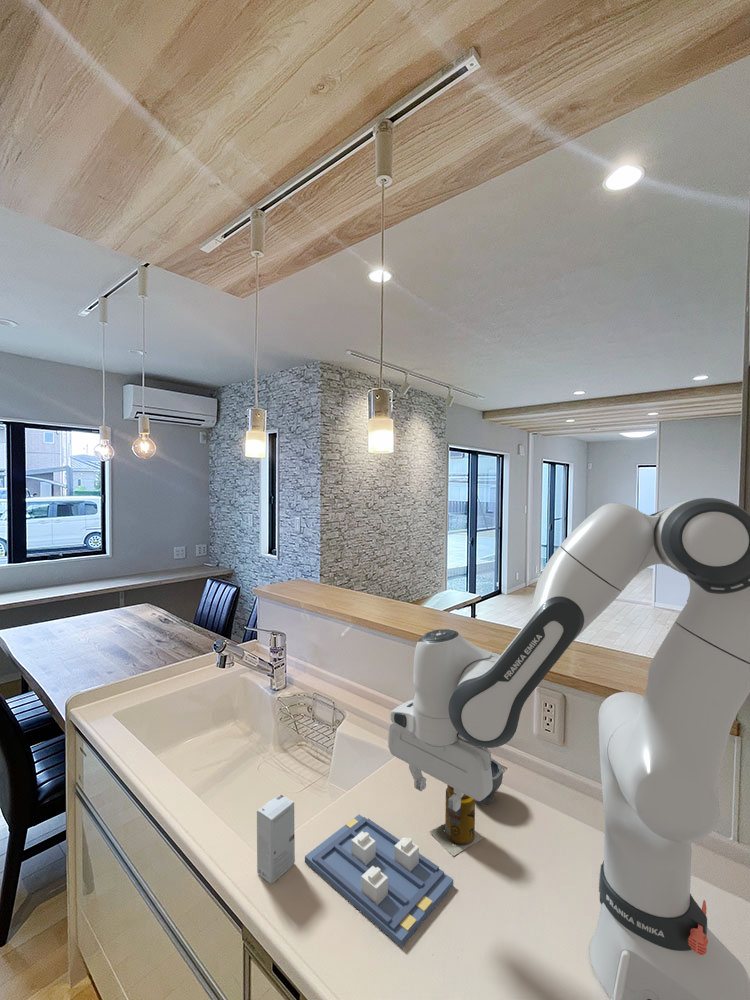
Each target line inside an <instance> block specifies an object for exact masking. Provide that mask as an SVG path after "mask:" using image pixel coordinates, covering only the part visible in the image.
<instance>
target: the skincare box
mask: <svg viewBox="0 0 750 1000" xmlns="http://www.w3.org/2000/svg"><path fill="white" fill-rule="evenodd" d="M295 835H296V834H295V802H294V801H293V800H291V799H290V798H288V797H286V796H284V795H282V794H278V795H277V796H276V797H274V798H273V799H270V800H269V801H267V802H266V803H265V804H264V805H263V806H262V807H260V808H258V809H257V810H256V867H257V868H256V870H257V871H256V873H257V874H258V875H259V876H260V877H261V878H262V879H264V880H265V881H266V882H268V883H269V884H270V885H272V884H274V883H275V882H276V881H277V880H279V878H281V877H282V876H283V875H284V874H285V873H286V872H287V871H288V870H290V869H291V868H292V867H293V865H294V864H295V862H296V861H295V860H296V858H295V857H296V856H295V847H296V846H295V845H296V844H295V839H296V838H295Z"/></svg>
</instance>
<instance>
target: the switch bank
mask: <svg viewBox="0 0 750 1000" xmlns="http://www.w3.org/2000/svg"><path fill="white" fill-rule="evenodd" d="M362 831H363V832H364V833H365V832H367V833H369V836H370V837H371V838H372V839H374V840H375V841H376V857H375V858H374V859H373V860H372V861H371V862H369V863H368V864H367V865H364V864H363V863H362V862H360V861H359V860H358V859H357V858H355V857H354V856H353V855H352V854H351V840H352V839H353V838H354V837H356V836H357V835H358V834H359V833H361V832H362ZM400 840H401V839H399V838H397V837H396V836H395V835H394V834H392V833H390V832H389V831H387V830H386V829H384V828H383V827H381V825H379V824H377V823H375V821H373V820H371V819H370V818H366V817H365V816H362V815H361V814H360V813H358V814H357V815H356V816H355V817H354V818H352V819H351V820H350V821H348V822H347V823H345V825H343V826H342V827H341V828H339V829H338V830H337V831H335V832H334V833H333V834H331V835H330V836H329V837H328V838H326V839H325V840H324V841H322V842H321V843H319V844H318V845H317V846H316V847H315V848H313V849H312V850H311V851H309V852H307V854H305V855H304V862H305V863H306V864H307V865H308V867H310V868H311V869H312V870H313V871H314V872H316V874H318V875H319V876H320V877H321V878H322V879H323V880H324V881H325V882H326V883H328V884H329V885H330V886H331V887H332V888H333V889H334V890H336V891H337V892H338V893H339V894H340V895H341V896H342V897H343V898H345V900H347V901H348V902H349V903H350V904H351V905H352V906H353V907H354V908H356V909H357V910H358V911H359V912H360V913H361V914H363V916H365V917H366V918H367V919H368V920H369V921H370V922H372V923H373V924H374V926H376V927H377V928H378V929H379V930H381V932H383V933H384V934H385V935H386V936H387V937H388V938H390V940H391V941H393V942H394V943H395V944H396V945H397V946H399V947H400V948H403V947H404V946H405V944H406V943H407V942H408V941H409V940H410V938H411V937H413V934H415V932H416V931H417V930H418V928H420V926H421V925H422V924H423V922H425V920H426V919H427V918H428V917H429V916H430V915H431V913H432V912H433V911H434V909H436V907H437V906H438V905H439V903H440V902H441V901H442V900H443V899H444V898H445V897H446V895H448V893H449V891H450V890H452V888H453V886H454V879H453V877H450V876H449V875H448V874H447V873H445V871H444V870H442V869H441V868H440V867H439V866H438V865H437V864H436V863H434V862H432V861H431V860H430V859H428V858H427V857H426V856H424V855H423V854H421V853H419V864H418V865H417V866H416V867H415V868H414V869H413V870H412V871H411V872H409V871H408V870H407V869H405V868H404V867H403V866H401V865H400V864H398V863H397V862H396V861H394V846H395V845H396V844H397V843H398V842H399V841H400ZM372 866H374V867H375V868H377V867H378V868H380V869H381V872H382V873H383V874H384V875H386V876H387V877H388V895H387V896H386V897H385V898H384V899H383V900H382V901H381V902H380V903H379V905H378V906H377V905H376V904H375V903H373V902H372V901H371V900H370V899H369V898H367V897H366V896H365V895H364V894H363V893H362V892H361V876H362V875H363V874H364V873H365V872H366V871H367V870H368V869H370V868H371V867H372Z"/></svg>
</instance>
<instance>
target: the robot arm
mask: <svg viewBox="0 0 750 1000" xmlns="http://www.w3.org/2000/svg"><path fill="white" fill-rule="evenodd" d="M655 565H665V566H667V567H669V568H671V569H673V570H674V571H676V572H678V573H680V574H683V575H685V576H686V577H687V579H688V581H689V593H688V596H687V600H686V604H685V605H684V606H683V608H682V610H681V611H680V613H679V614H678V616H677V617H676V619H675V621H674V622H673V624H672V625H671V628H670V629H669V630H668V632H667V634H666V636H665V637H664V639H663V641H662V642H661V644H660V646H659V648H658V649H657V651H656V653H655V654H654V656H653V658H652V659H651V661H650V664H649V666H648V671H647V682H646V683H647V684H646V688H645V692H644V696H643V695H640V694H638V693H635V692H630V691H621V692H616V693H613V694H611V695H610V696H608V697H607V698H606V699H604V700H603V701H602V703H601V705H600V707H599V710H598V717H597V718H598V720H597V721H598V741H599V745H598V746H599V763H600V779H601V793H602V801H603V813H604V815H603V816H604V817H603V818H604V832H603V834H604V836H603V861H602V863H601V864H600V869H599V873H598V875H599V876H598V877H599V878H598V892H599V903H600V908H599V909H600V910H599V915H598V920H597V924H596V927H595V931H594V933H593V936H592V938H591V940H590V943H589V958H590V962H591V966H592V969H593V972H594V974H595V976H596V978H597V980H598V981H599V983H600V984H601V986H602V987H603V989H604V990H605V992H606V993H607V995H608V996H610V997H611V999H612V1000H750V977H749V973H748V972H747V970H746V968H745V967H744V964H742V962H741V961H740V960H739V959H738V958H737V956H735V955H734V954H733V952H731V950H729V948H727V946H725V945H724V943H723V942H722V941H721V940H720V939H719V938H718V937H717V936H716V935H715V934H714V933H713V931H712V930H711V929H710V928H709V927H708V916H707V909H708V908H707V904H706V903H707V902H706V900H705V899H703V902H702V906H701V907H700V906H699V904H698V903H697V902H696V900H695V898H694V897H693V896H692V894H691V878H692V851H693V850H692V843H694V842H697V841H701V840H703V839H705V838H707V837H708V836H709V835H710V834H712V832H713V831H714V830H715V829H716V828H717V825H718V823H719V821H720V816H721V807H720V798H719V797H720V796H719V783H720V782H719V781H720V774H721V769H722V765H723V760H724V756H725V751H726V748H727V743H728V741H729V737H730V733H731V730H732V727H733V724H734V721H735V719H736V716H737V715H738V713H739V712H740V711H739V710H741V708H742V706H743V705H744V703H745V701H746V699H747V697H748V696H749V694H750V513H749V512H748V511H746V510H745V509H744V508H743V507H740V506H739V505H737V504H735V503H733V502H731V501H728V500H725V499H722V498H715V497H714V498H713V497H702V498H701V497H700V498H694V499H688V500H684V501H683V500H682V501H681V502H678V503H675V504H673V505H672V506H670V507H667V508H665V509H662V510H659V511H657V512H654V513H651V514H646V513H643V512H642V511H640V510H638V509H637V508H635V507H633V506H631V505H628V504H625V503H619V502H618V503H617V502H614V503H613V502H610V503H606V504H603V505H602V506H600V507H598V508H597V509H596V510H594V511H593V512H592V513H591V514H590V515H589V516H587V517H585V519H584V520H582V522H581V523H580V524H579V525H578V526H576V527H575V528H574V529H573V530H572V532H571V533H570V534H568V536H567V537H566V538H565V539H564V540H563V541H562V543H561V544H560V545H559V546H558V547H557V548H556V549H555V551H554V552H553V553H552V555H551V556H550V558H549V559H548V561H547V563H546V564H545V566H544V567H543V570H542V571H541V572H540V575H539V577H538V579H537V582H536V586H535V590H534V596H533V598H532V603H531V607H530V610H529V613H528V615H527V616H526V617H527V618H526V619H525V622H524V623H523V625H522V627H521V629H520V630H519V632H518V633H517V634H516V636H515V637H514V638H513V639H512V640H511V642H510V643H509V644H508V646H507V647H506V648H505V649H504V650H503V651H502V653H499V652H494V651H490V650H487V649H484V648H481V647H480V646H477V645H475V644H473V643H472V642H470V641H469V640H468V639H466V638H465V637H464V636H462V634H461V633H460V632H459V631H457V630H453V629H448V628H444V629H442V628H440V629H435V630H431V631H428V632H426V633H425V634H423V635H422V636H421V637H420V638H419V639H418V640H417V642H416V645H415V649H414V656H413V667H412V668H413V671H412V681H413V686H414V691H415V692H414V697H413V699H410V700H407V701H405V702H403V703H402V704H400V705H398V706H397V707H396V706H395V708H393V709H392V710H391V711H390V712H389V713H390V715H389V717H390V721H391V722H390V724H389V725H388V736H387V737H388V739H387V740H388V741H387V742H388V743H387V744H388V745H387V746H388V749H389V752H390V754H391V755H392V756H393V757H395V758H397V759H398V760H401V761H402V762H404V763H407V764H408V770H409V771H410V774H411V776H412V778H413V780H414V782H413V788H414V789H416V790H418V792H423V790H425V789H426V788H427V778H426V777H424V775H423V773H425V774H427V775H429V776H430V777H433V778H434V779H436V780H437V781H440V782H442V783H443V784H446V785H447V786H448V785H449V786H451V787H453V788H454V793H455V794H457V795H455V794H453V795H452V797H450V798H449V799H448V803H449V805H448V807H449V808H450V809H452V810H454V811H455V812H457V811H458V810H459V809H460V807H461V798H462V797H463V795H464V794H466V795H467V796H469V797H471V798H473V799H475V800H477V801H481V800H483V799H484V798H486V797H487V796H488V795H489V794H490V792H491V791H492V787H493V783H492V770H491V758H492V754H491V753H492V752H491V750H490V748H491V749H493V748H498V747H502V746H504V745H506V744H507V743H508V742H510V741H511V739H513V737H514V736H515V734H516V732H517V729H518V727H519V721H520V717H521V713H522V710H523V707H524V705H525V703H526V702H527V700H528V698H529V697H530V696H531V694H532V693H533V691H534V690H535V689H537V687H538V686H539V684H540V683H541V681H542V680H543V679H544V678H545V677H546V675H547V674H548V673H549V672H550V671H551V669H552V668H553V667H554V666H555V664H556V663H557V662H558V661H559V660H560V658H561V657H562V655H563V654H564V653H565V652H566V650H567V649H568V648H569V647H570V646H571V644H572V643H573V642H574V641H575V640H577V639H578V638H579V636H580V635H581V634H582V633H583V632H585V630H586V629H587V628H588V627H589V626H590V625H591V624H592V623H593V622H594V620H596V619H597V618H598V617H599V616H600V615H601V614H602V613H603V612H605V610H606V609H607V608H608V607H609V606H610V605H611V604H612V603H613V602H614V601H615V600H616V599H617V598H618V597H619V596H620V594H621V593H623V591H624V590H625V589H626V588H627V586H628V585H629V584H630V583H631V582H632V581H633V579H634V578H635V577H636V576H638V575H639V574H640V573H642V571H644V570H645V569H647V568H649V567H652V566H655ZM610 997H609V998H610ZM611 999H610V1000H611Z"/></svg>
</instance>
